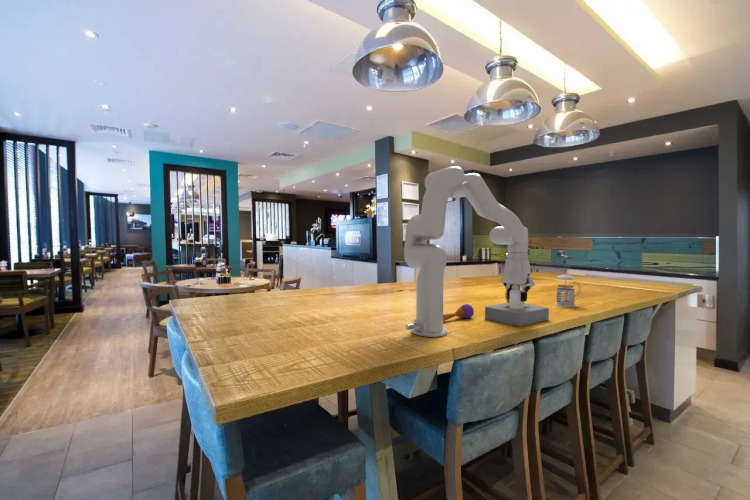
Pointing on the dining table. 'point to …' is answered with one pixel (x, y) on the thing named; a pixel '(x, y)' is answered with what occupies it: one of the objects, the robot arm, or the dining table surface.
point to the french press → (566, 289)
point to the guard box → (517, 314)
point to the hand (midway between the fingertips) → (516, 299)
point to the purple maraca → (461, 312)
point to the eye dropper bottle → (516, 298)
